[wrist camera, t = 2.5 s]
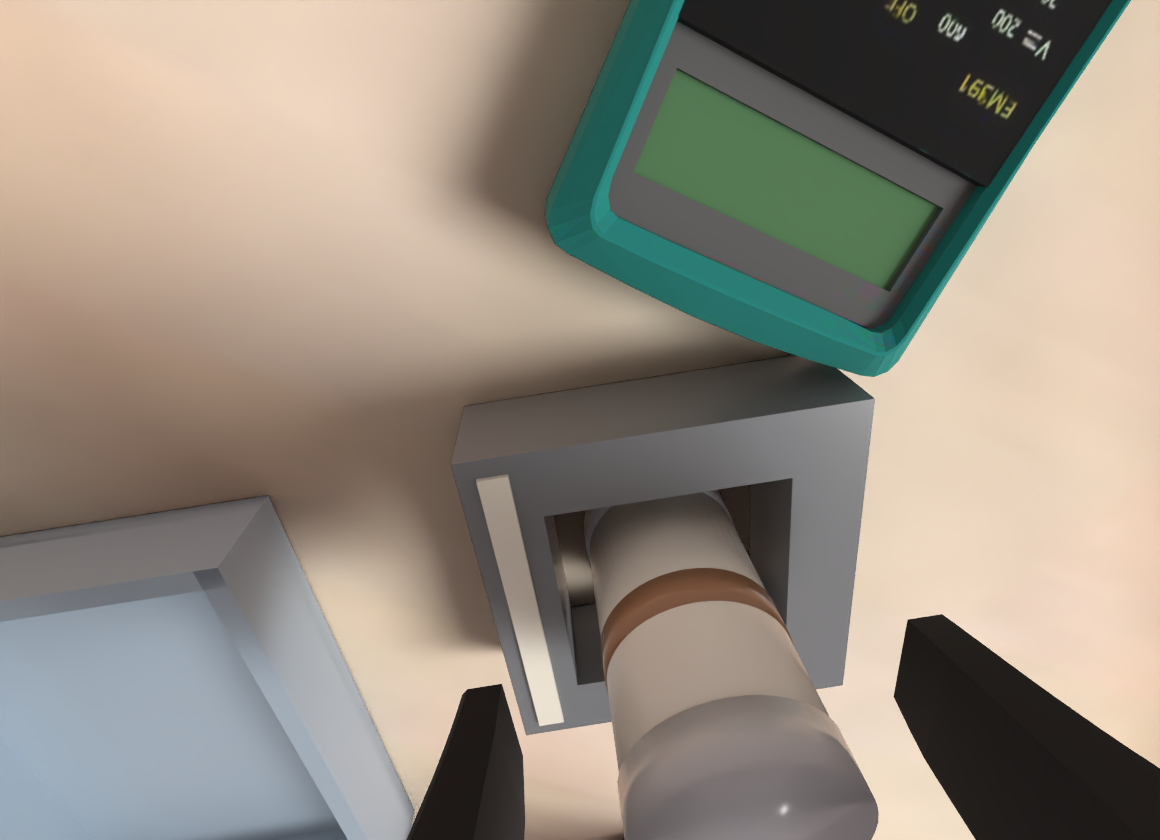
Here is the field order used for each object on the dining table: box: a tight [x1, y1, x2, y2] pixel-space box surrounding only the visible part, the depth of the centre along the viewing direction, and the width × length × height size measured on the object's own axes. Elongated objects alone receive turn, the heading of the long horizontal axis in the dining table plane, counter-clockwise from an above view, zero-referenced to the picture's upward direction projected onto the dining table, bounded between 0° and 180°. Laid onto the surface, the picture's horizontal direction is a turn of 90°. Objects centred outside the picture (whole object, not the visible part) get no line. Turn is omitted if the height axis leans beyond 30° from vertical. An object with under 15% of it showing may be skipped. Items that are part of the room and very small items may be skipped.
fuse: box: [584, 490, 878, 840], centre depth 12 cm, size 4×4×8 cm
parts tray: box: [0, 496, 414, 840], centre depth 16 cm, size 13×10×2 cm
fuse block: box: [451, 355, 875, 735], centre depth 14 cm, size 8×8×3 cm
